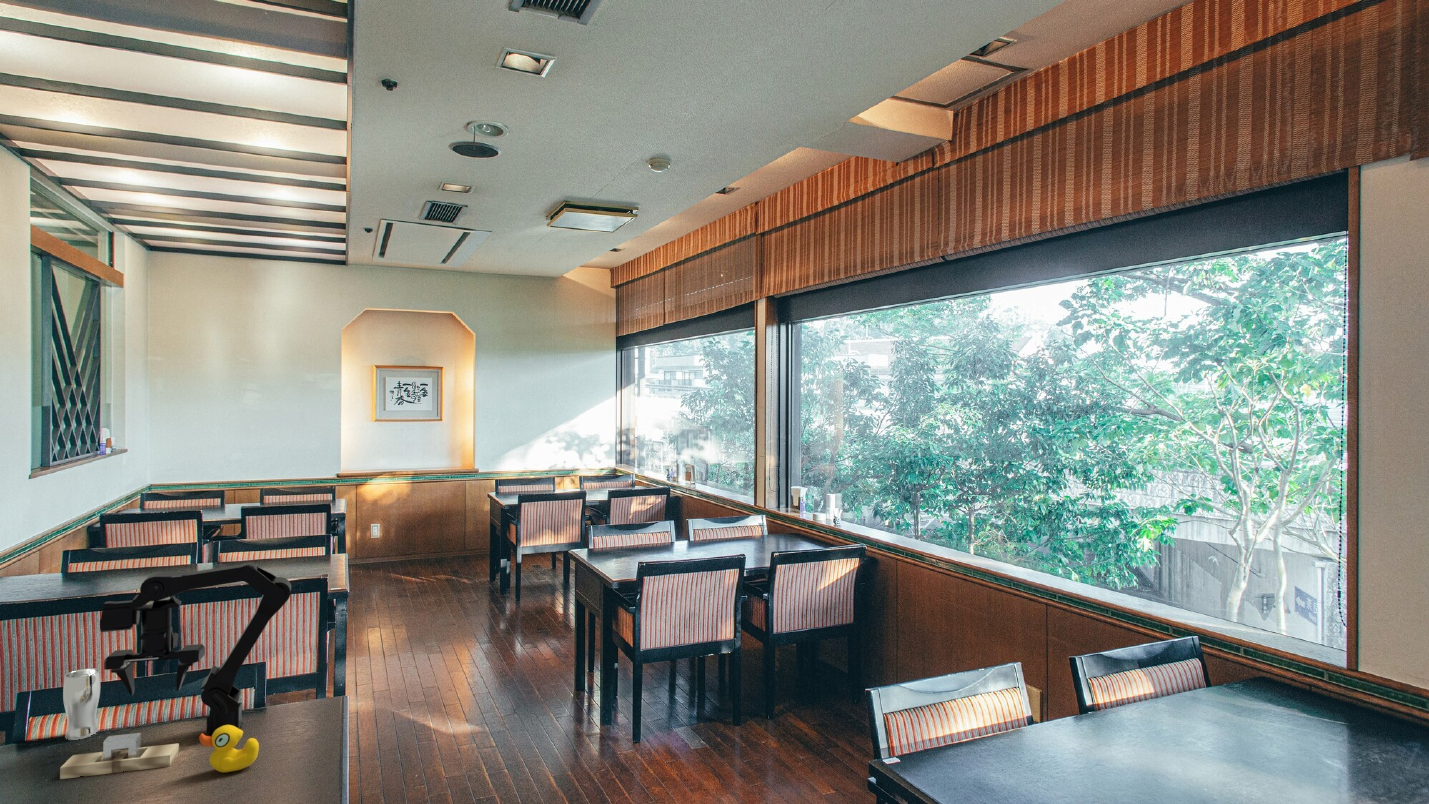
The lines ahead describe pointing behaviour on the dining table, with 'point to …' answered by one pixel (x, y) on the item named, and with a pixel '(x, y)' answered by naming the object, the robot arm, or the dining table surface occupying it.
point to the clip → (122, 745)
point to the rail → (119, 761)
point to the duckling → (230, 749)
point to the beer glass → (81, 702)
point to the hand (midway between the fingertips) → (155, 692)
